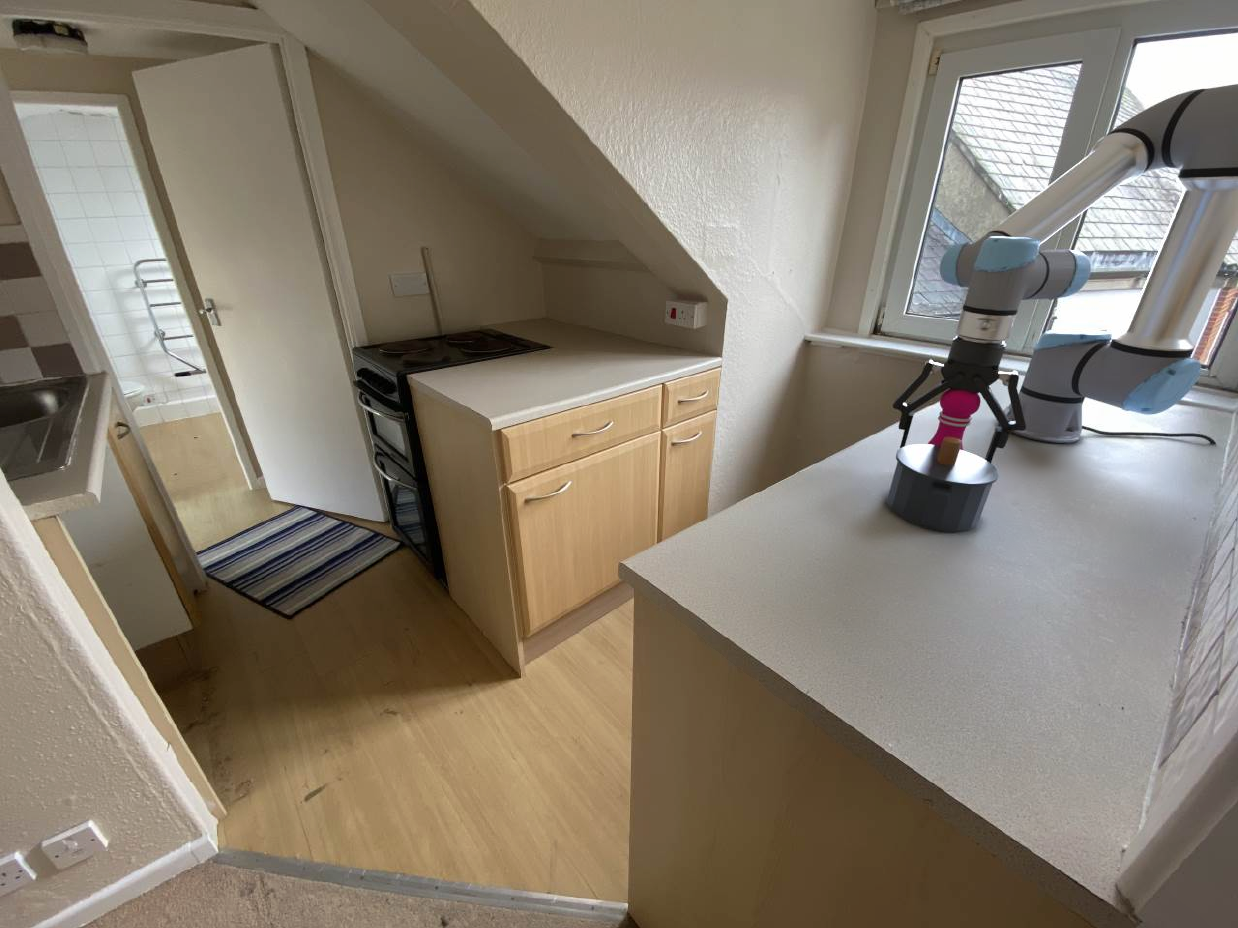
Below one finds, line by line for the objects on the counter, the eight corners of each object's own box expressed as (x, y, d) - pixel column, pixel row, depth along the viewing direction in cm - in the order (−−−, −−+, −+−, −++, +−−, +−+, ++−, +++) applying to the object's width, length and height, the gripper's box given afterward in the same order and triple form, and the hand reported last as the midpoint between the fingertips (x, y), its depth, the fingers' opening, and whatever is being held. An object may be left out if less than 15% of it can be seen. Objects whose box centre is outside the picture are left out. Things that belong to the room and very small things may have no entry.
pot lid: (995, 462, 89) (1005, 434, 87) (998, 500, 78) (1010, 468, 75) (899, 443, 96) (907, 416, 93) (889, 475, 84) (897, 445, 82)
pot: (976, 497, 94) (992, 454, 91) (977, 550, 80) (995, 502, 76) (893, 478, 101) (904, 437, 97) (879, 524, 86) (892, 478, 82)
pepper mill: (962, 493, 96) (999, 387, 87) (919, 488, 97) (951, 383, 88) (948, 475, 102) (981, 374, 93) (908, 471, 103) (937, 371, 94)
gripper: (895, 333, 90) (867, 446, 100) (1078, 354, 79) (1027, 479, 88) (899, 325, 96) (873, 432, 105) (1071, 344, 84) (1024, 462, 94)
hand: (943, 454), depth 97 cm, fingers open, 13 cm apart
